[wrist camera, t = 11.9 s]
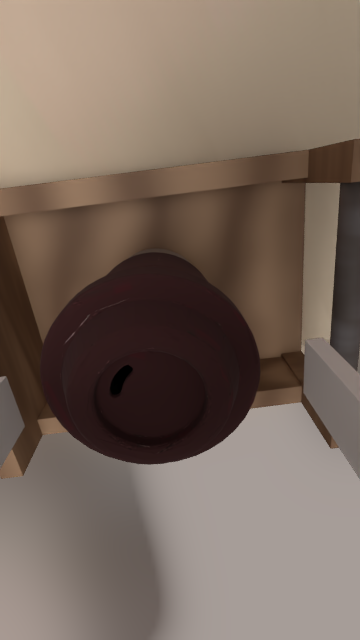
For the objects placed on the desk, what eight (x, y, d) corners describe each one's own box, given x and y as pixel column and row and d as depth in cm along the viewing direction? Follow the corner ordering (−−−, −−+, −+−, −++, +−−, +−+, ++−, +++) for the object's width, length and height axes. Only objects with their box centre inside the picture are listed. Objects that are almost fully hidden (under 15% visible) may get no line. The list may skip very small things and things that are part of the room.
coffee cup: (236, 313, 28) (306, 438, 14) (136, 363, 30) (113, 520, 16) (182, 205, 25) (205, 234, 11) (71, 268, 26) (-32, 363, 12)
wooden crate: (299, 154, 25) (394, 134, 15) (295, 361, 32) (357, 445, 22) (-17, 194, 25) (-140, 201, 15) (47, 393, 32) (-6, 491, 22)
